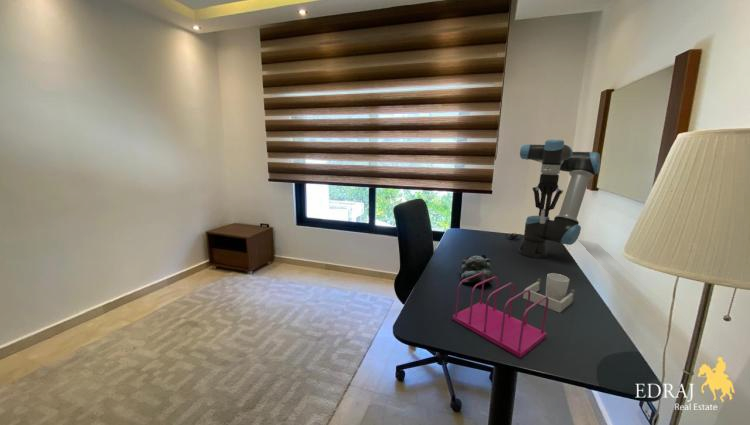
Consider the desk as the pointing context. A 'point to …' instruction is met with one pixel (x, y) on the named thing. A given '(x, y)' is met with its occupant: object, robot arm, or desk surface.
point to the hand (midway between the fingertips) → (542, 223)
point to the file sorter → (501, 321)
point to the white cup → (556, 286)
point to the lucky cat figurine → (476, 268)
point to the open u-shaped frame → (552, 303)
